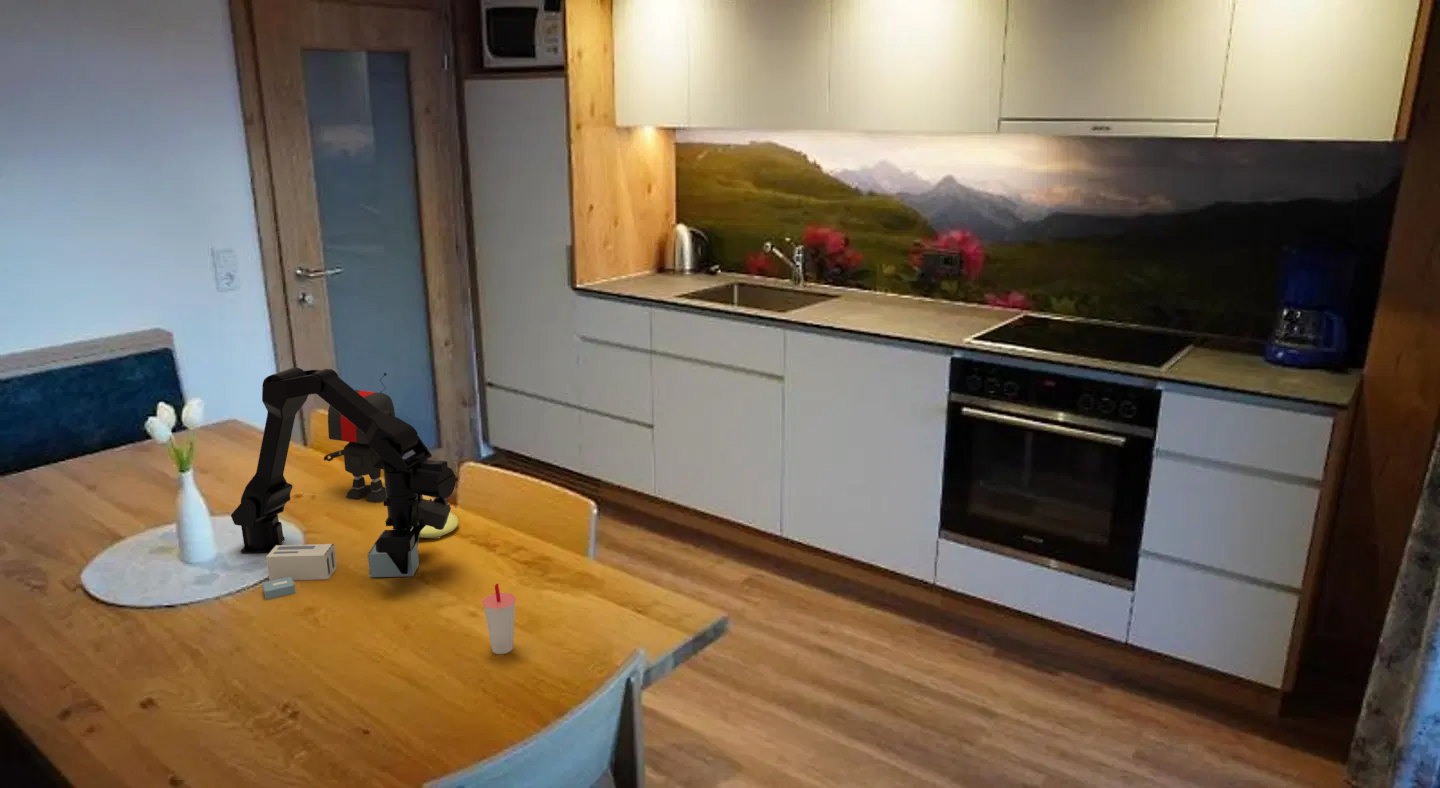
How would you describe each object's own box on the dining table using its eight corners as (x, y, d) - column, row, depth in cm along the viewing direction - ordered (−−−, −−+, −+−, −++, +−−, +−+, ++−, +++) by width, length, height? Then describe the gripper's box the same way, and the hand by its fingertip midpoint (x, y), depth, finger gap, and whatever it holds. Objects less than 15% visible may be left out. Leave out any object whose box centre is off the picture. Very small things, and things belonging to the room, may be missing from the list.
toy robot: (421, 494, 225) (410, 369, 216) (396, 509, 216) (383, 380, 208) (344, 483, 232) (330, 361, 223) (317, 497, 223) (301, 371, 215)
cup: (481, 656, 159) (476, 590, 155) (491, 639, 164) (486, 575, 160) (514, 658, 158) (509, 591, 155) (522, 640, 164) (518, 576, 160)
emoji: (466, 506, 210) (412, 499, 211) (446, 529, 199) (389, 523, 200) (466, 522, 211) (413, 516, 212) (446, 547, 200) (389, 540, 201)
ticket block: (269, 580, 184) (265, 556, 182) (279, 568, 189) (275, 544, 187) (328, 579, 185) (325, 554, 183) (337, 567, 189) (334, 543, 188)
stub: (370, 577, 185) (367, 553, 184) (377, 565, 190) (374, 542, 188) (412, 576, 185) (410, 552, 184) (419, 564, 190) (416, 541, 189)
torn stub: (266, 601, 177) (264, 591, 176) (263, 592, 180) (262, 582, 180) (295, 594, 179) (294, 584, 179) (292, 585, 183) (291, 576, 182)
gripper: (434, 509, 175) (440, 587, 179) (454, 472, 192) (460, 544, 197) (370, 510, 174) (379, 589, 178) (397, 473, 192) (404, 545, 196)
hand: (408, 565), depth 187 cm, fingers open, 6 cm apart
